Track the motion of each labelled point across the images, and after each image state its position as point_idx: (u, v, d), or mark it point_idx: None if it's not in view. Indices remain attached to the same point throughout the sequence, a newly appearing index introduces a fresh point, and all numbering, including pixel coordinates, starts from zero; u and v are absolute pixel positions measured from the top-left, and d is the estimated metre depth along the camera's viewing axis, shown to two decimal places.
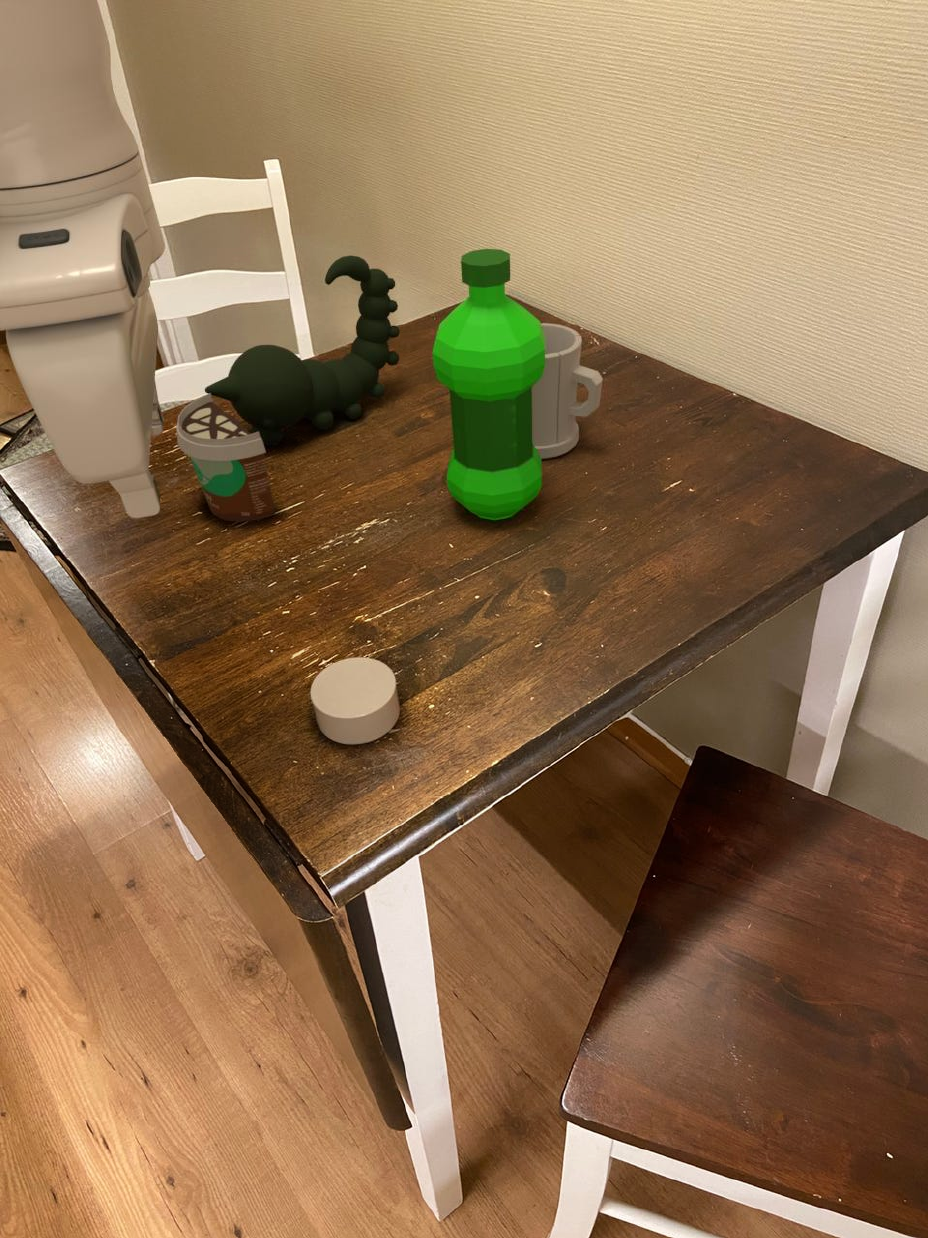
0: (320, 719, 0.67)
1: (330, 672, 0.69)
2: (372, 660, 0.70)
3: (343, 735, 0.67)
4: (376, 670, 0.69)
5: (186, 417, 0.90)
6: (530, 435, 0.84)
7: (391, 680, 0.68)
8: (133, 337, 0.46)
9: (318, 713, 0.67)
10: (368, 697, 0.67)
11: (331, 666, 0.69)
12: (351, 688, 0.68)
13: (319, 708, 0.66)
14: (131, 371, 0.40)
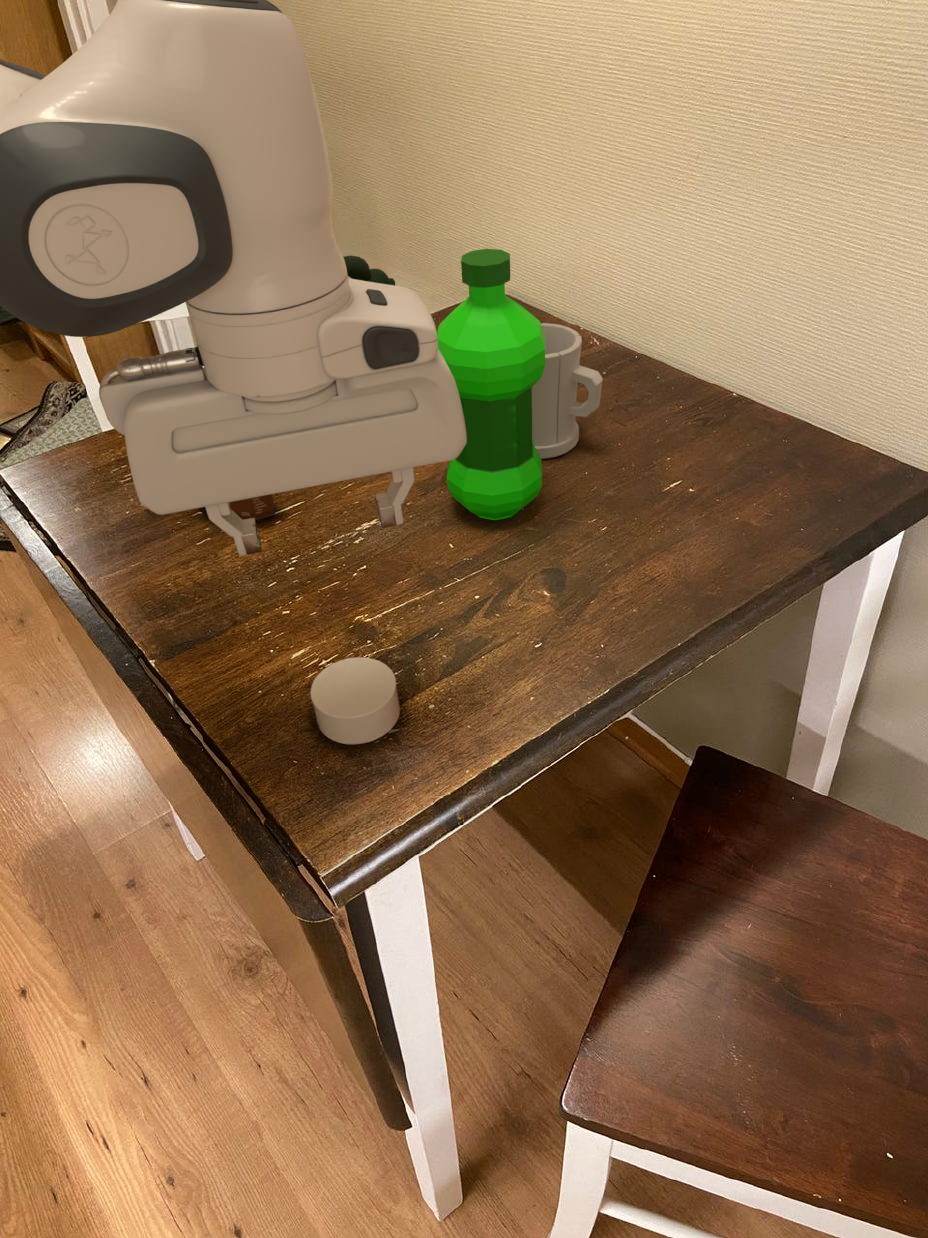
0: (320, 719, 0.67)
1: (330, 672, 0.69)
2: (372, 660, 0.70)
3: (343, 735, 0.67)
4: (376, 670, 0.69)
5: None
6: (530, 435, 0.84)
7: (391, 680, 0.68)
8: None
9: (318, 713, 0.67)
10: (368, 697, 0.67)
11: (331, 666, 0.69)
12: (351, 688, 0.68)
13: (319, 708, 0.66)
14: None
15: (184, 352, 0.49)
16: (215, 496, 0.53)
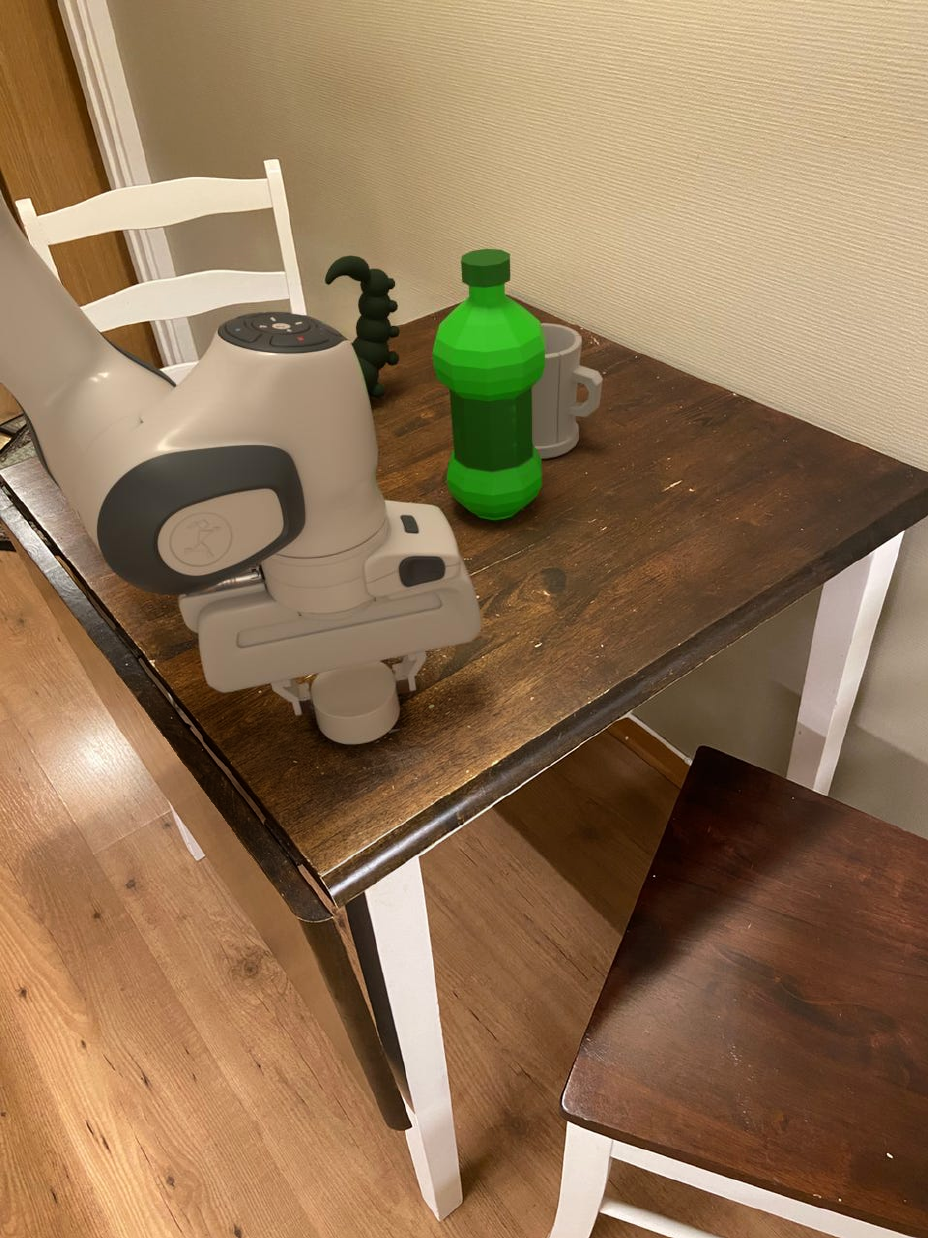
0: (320, 719, 0.67)
1: (330, 672, 0.69)
2: None
3: (343, 735, 0.67)
4: (376, 670, 0.69)
5: None
6: (530, 435, 0.84)
7: (391, 680, 0.68)
8: None
9: (318, 713, 0.67)
10: (368, 697, 0.67)
11: None
12: (351, 688, 0.68)
13: (319, 708, 0.66)
14: None
15: (250, 571, 0.59)
16: (270, 678, 0.63)
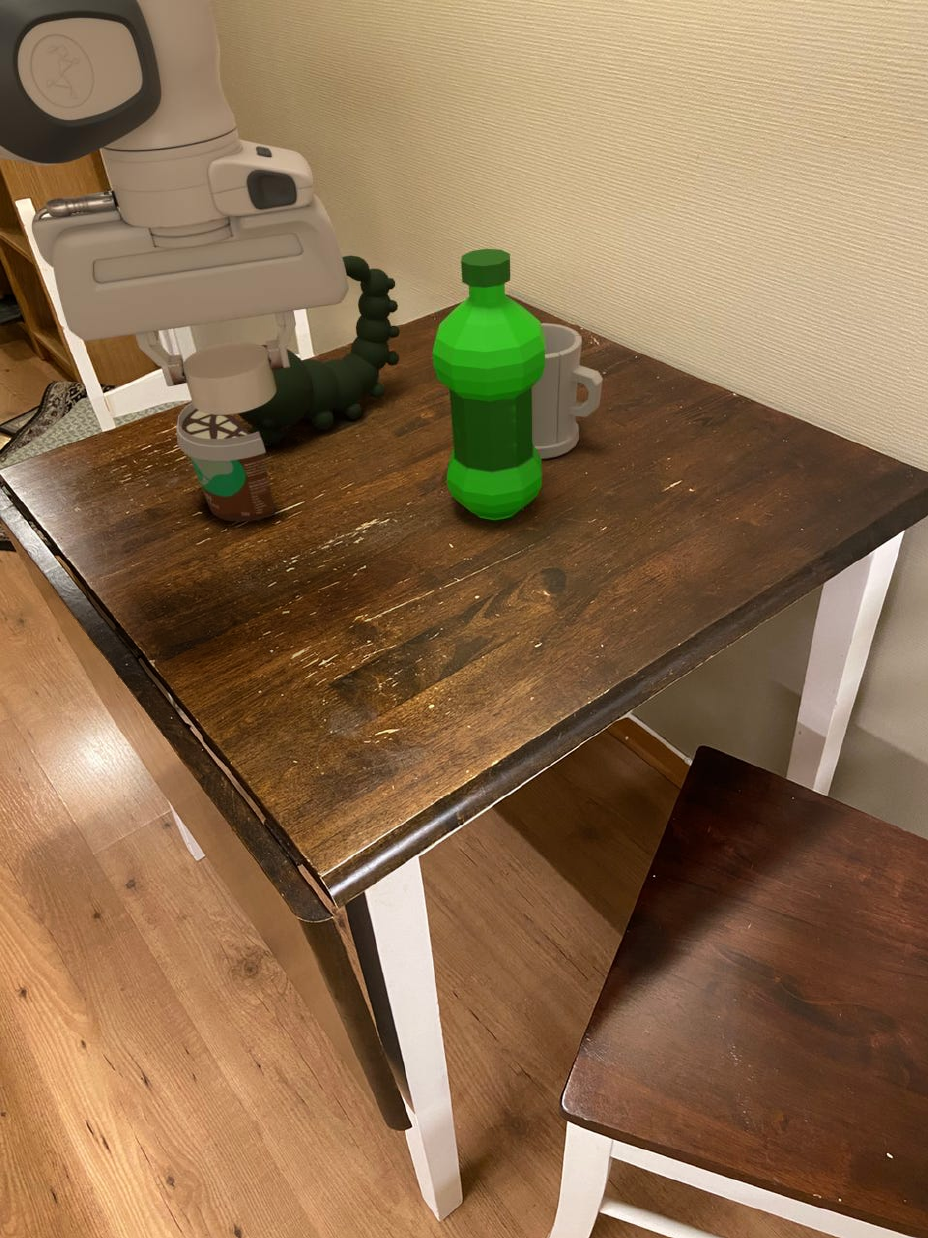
0: (191, 388, 0.67)
1: (205, 351, 0.69)
2: (249, 343, 0.70)
3: (213, 403, 0.67)
4: (251, 349, 0.69)
5: (186, 417, 0.90)
6: (530, 435, 0.84)
7: (264, 354, 0.68)
8: None
9: (188, 381, 0.67)
10: (238, 365, 0.67)
11: (207, 347, 0.69)
12: (223, 360, 0.67)
13: (189, 373, 0.66)
14: None
15: (102, 193, 0.59)
16: (132, 325, 0.63)
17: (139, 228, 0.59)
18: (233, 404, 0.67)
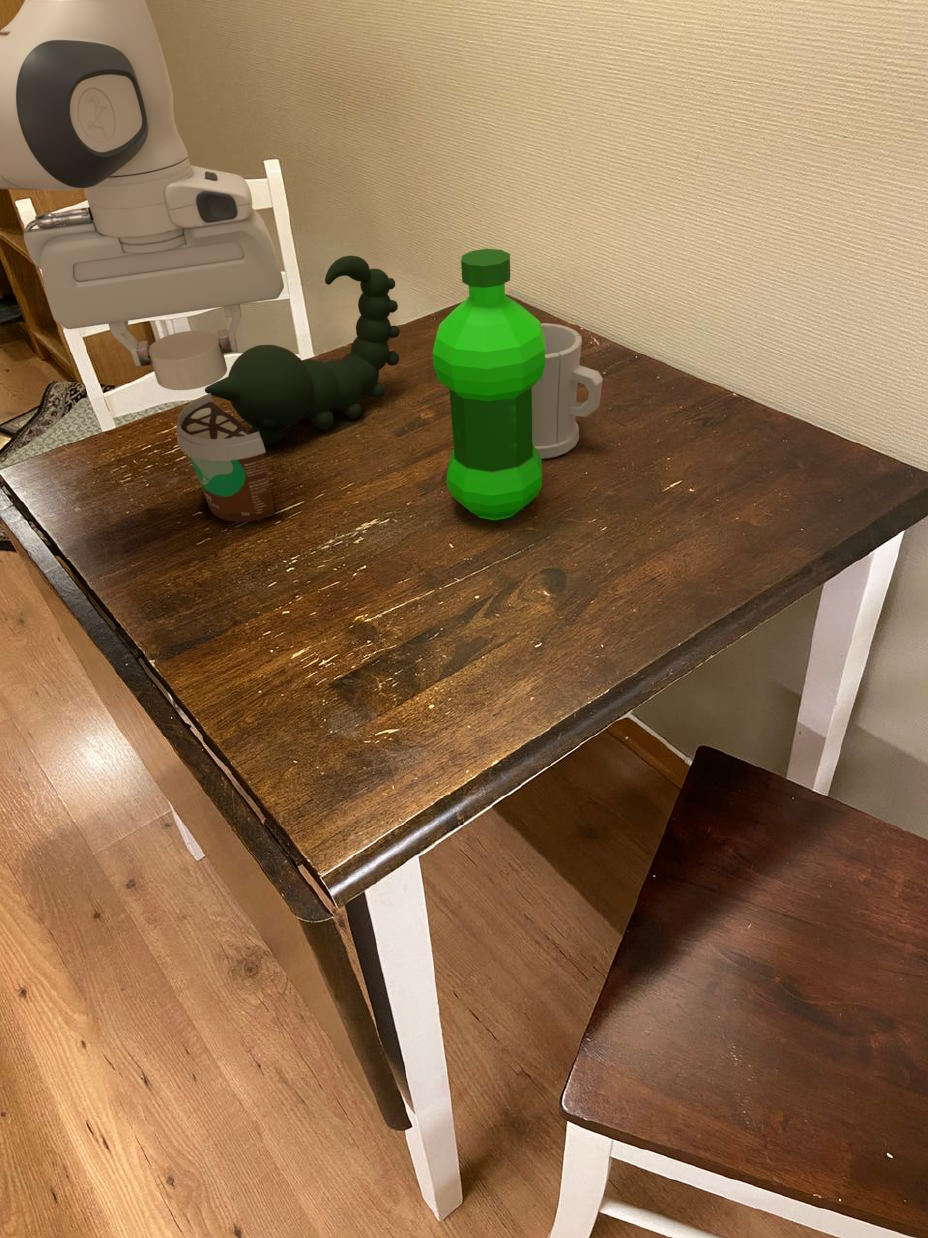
0: (155, 368, 0.81)
1: (168, 338, 0.83)
2: (204, 331, 0.84)
3: (173, 380, 0.81)
4: (205, 336, 0.83)
5: (186, 417, 0.90)
6: (530, 435, 0.84)
7: (216, 340, 0.82)
8: None
9: (153, 362, 0.81)
10: (194, 349, 0.81)
11: (169, 335, 0.84)
12: (182, 345, 0.82)
13: (153, 356, 0.80)
14: None
15: (80, 209, 0.73)
16: (106, 316, 0.77)
17: (110, 237, 0.73)
18: (190, 381, 0.81)
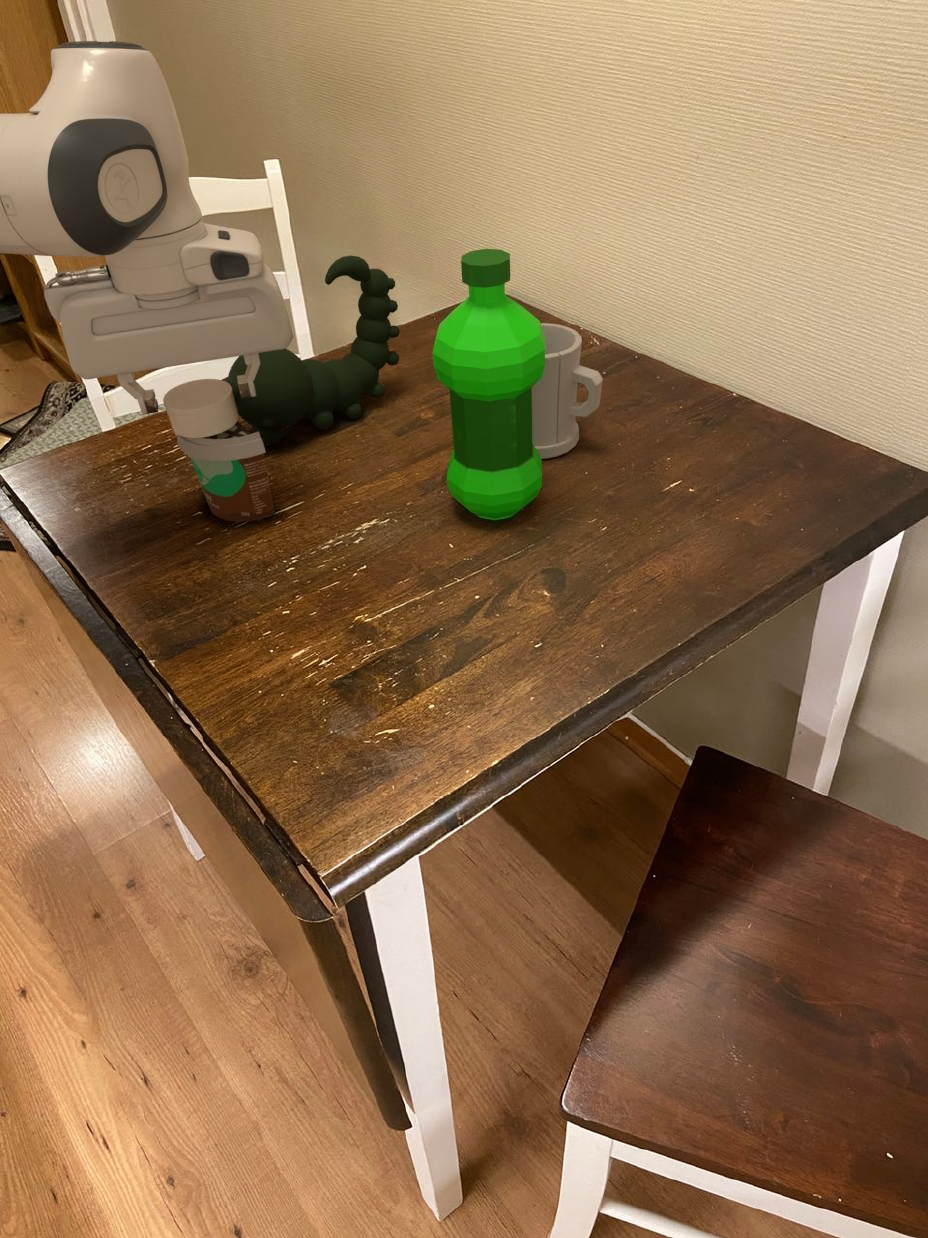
0: (170, 417, 0.85)
1: (181, 387, 0.87)
2: (217, 379, 0.87)
3: (187, 428, 0.84)
4: (217, 385, 0.86)
5: None
6: (530, 435, 0.84)
7: (228, 389, 0.85)
8: None
9: (168, 411, 0.84)
10: (207, 398, 0.84)
11: (183, 384, 0.87)
12: (195, 394, 0.85)
13: (168, 405, 0.84)
14: None
15: (98, 267, 0.76)
16: (122, 367, 0.80)
17: (127, 294, 0.77)
18: (203, 429, 0.84)
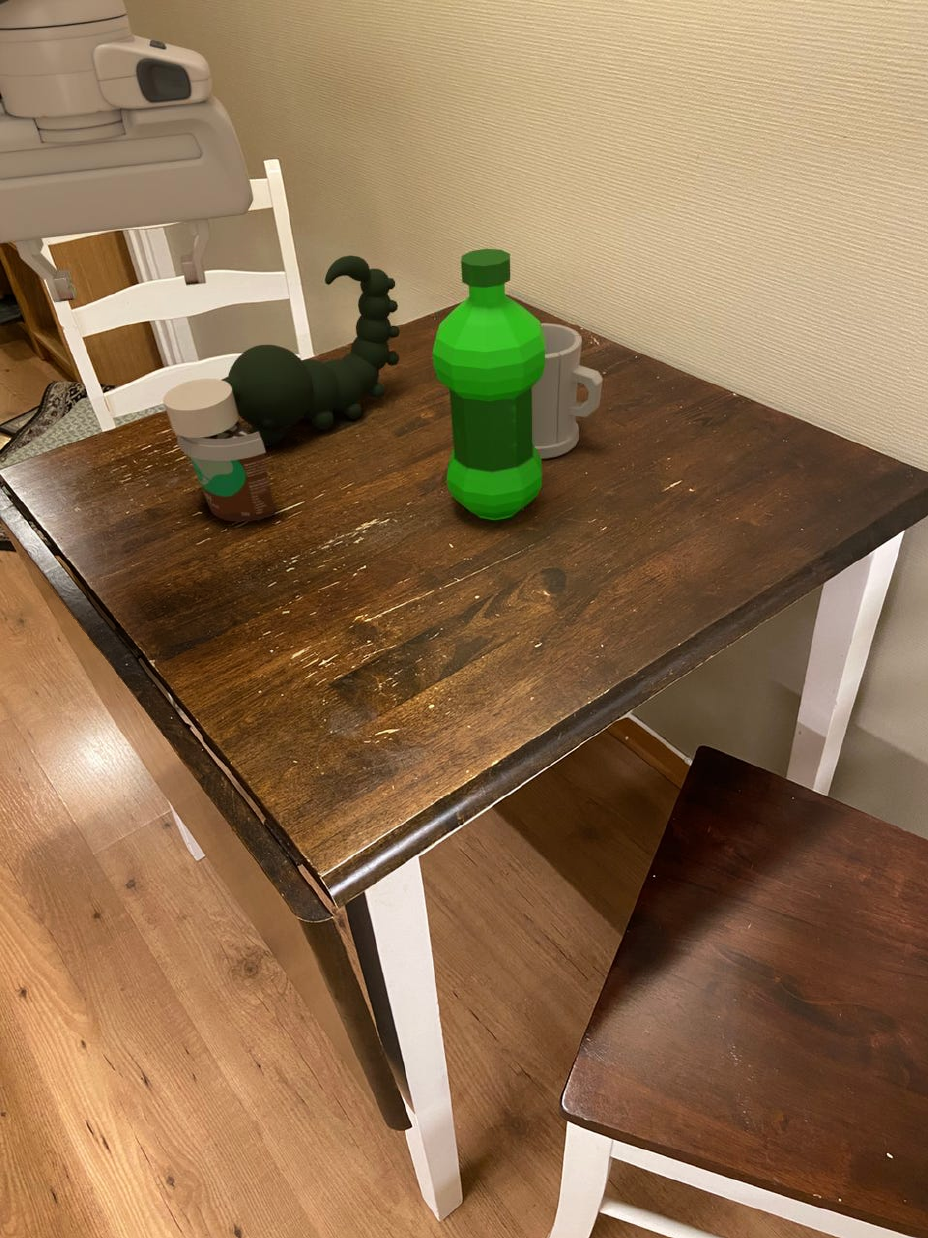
0: (170, 417, 0.85)
1: (181, 387, 0.87)
2: (217, 379, 0.87)
3: (187, 428, 0.84)
4: (217, 385, 0.86)
5: None
6: (530, 435, 0.84)
7: (228, 389, 0.85)
8: None
9: (168, 411, 0.84)
10: (207, 398, 0.84)
11: (183, 384, 0.87)
12: (195, 394, 0.85)
13: (168, 405, 0.84)
14: None
15: None
16: (21, 229, 0.60)
17: (24, 121, 0.56)
18: (203, 429, 0.84)
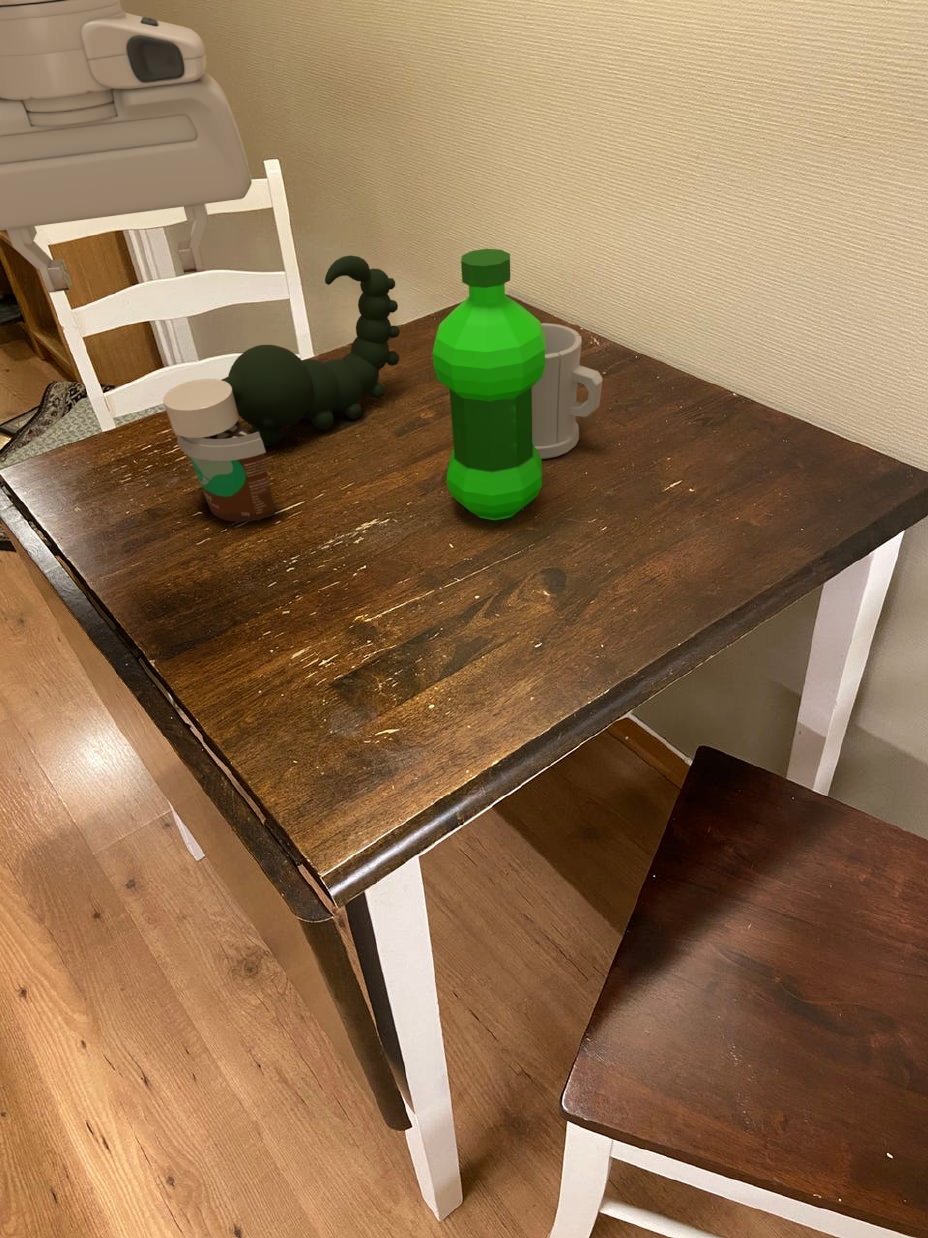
0: (170, 417, 0.85)
1: (181, 387, 0.87)
2: (217, 379, 0.87)
3: (187, 428, 0.84)
4: (217, 385, 0.86)
5: None
6: (530, 435, 0.84)
7: (228, 389, 0.85)
8: None
9: (168, 411, 0.84)
10: (207, 398, 0.84)
11: (183, 384, 0.87)
12: (195, 394, 0.85)
13: (168, 405, 0.84)
14: None
15: None
16: (13, 217, 0.58)
17: (12, 103, 0.54)
18: (203, 429, 0.84)
